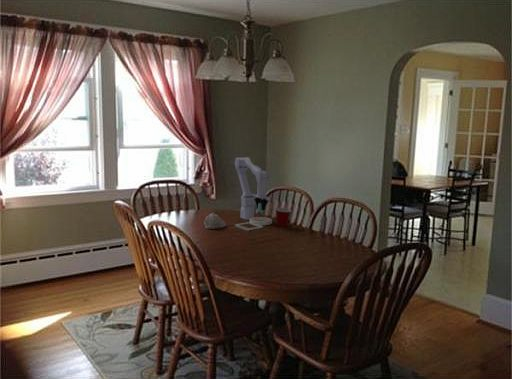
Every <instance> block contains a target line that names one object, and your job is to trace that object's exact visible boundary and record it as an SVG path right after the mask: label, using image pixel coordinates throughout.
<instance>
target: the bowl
mask: <svg viewBox="0 0 512 379" xmlns="http://www.w3.org/2000/svg"><path fill="white" fill-rule="evenodd" d="M249 222H251V223H254V224H258V225H261V226H268V225H271V224H273V219H272V218H269V217H264V216H256V217H255V216H254V218H251V219H250V220H249Z"/></svg>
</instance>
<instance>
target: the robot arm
mask: <svg viewBox="0 0 512 379" xmlns="http://www.w3.org/2000/svg"><path fill="white" fill-rule="evenodd" d="M234 167H235V170H236V171H237V176H238V179H239V182H240V187H241V190H242V191H241V192H242V195H241V196H240V203H241V204H240V205H241V207H240V214H239V215H240V219H243V220H249V221H250V219H251V218H254V217H255V215H254V213H255V212H254V211H255V207H256V208H257V210H258V203H261V204H262V210H264V211H265V210H266V206H267V204H268V202H269V201H270V200H271V197H269V196H267V195H266V194H267V180H268V179H269V173H268V172H267V170H263V169H262V168H260V167H259V166H258V165H255V164H253V162H252V161H251V158H250V157H247V156H245V157H236V158H235V160H234ZM248 169H250V171H251V173H252V174H253V175H254V176H255V179H256V184H257V186H256V187H257V190H256V191H257V192H256V193H255V194H254V193H252V192H251V189H250V185H249V182H248V177H247V174H246V171H247V170H248Z"/></svg>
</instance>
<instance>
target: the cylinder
mask: <svg viewBox="0 0 512 379" xmlns="http://www.w3.org/2000/svg"><path fill="white" fill-rule="evenodd" d="M257 212H258V213H261V214H263V213H265V210H262V204H261V203H258V209H257Z"/></svg>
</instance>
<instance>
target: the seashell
mask: <svg viewBox="0 0 512 379" xmlns="http://www.w3.org/2000/svg"><path fill="white" fill-rule="evenodd" d="M203 224H204V227H205V229H207V230H208V229H209V230H212V229H213V230H215V229H223V228H225V227H226V226H227V225H226V224H227V223H226V222H225V220H224V219H221V217H219V215H218V214H216V213H214V212H212V213H209V215H206V217H204V220H203Z"/></svg>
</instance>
